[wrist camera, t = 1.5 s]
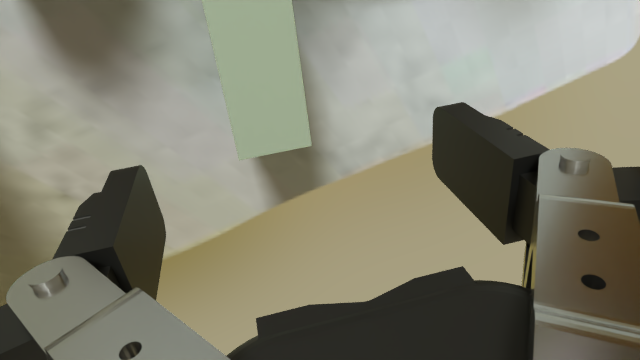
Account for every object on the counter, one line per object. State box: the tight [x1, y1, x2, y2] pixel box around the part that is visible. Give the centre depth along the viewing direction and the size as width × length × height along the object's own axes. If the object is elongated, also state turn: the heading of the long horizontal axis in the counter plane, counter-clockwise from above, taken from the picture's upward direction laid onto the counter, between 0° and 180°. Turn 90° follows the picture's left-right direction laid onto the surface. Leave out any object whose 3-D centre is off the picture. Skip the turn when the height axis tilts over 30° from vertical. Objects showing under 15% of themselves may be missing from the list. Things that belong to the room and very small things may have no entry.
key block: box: [202, 0, 312, 160], centre depth 25 cm, size 4×9×9 cm, turn 7°
